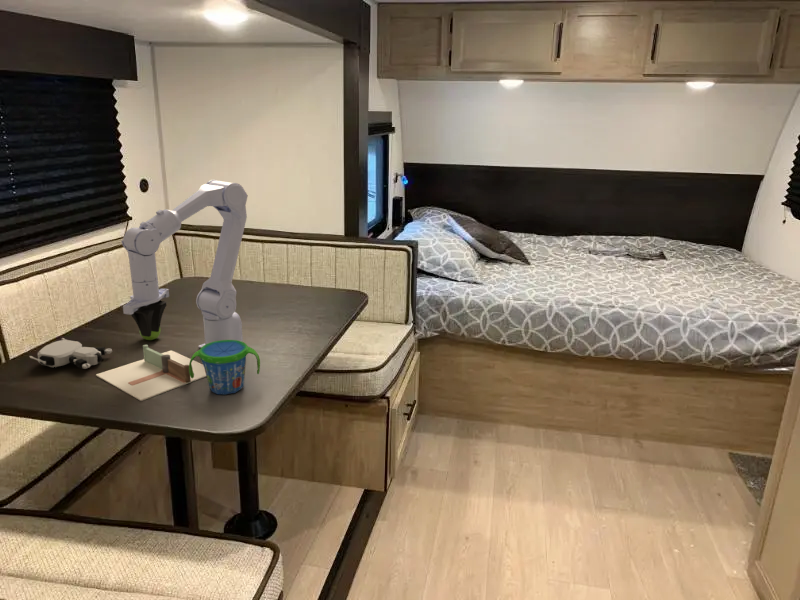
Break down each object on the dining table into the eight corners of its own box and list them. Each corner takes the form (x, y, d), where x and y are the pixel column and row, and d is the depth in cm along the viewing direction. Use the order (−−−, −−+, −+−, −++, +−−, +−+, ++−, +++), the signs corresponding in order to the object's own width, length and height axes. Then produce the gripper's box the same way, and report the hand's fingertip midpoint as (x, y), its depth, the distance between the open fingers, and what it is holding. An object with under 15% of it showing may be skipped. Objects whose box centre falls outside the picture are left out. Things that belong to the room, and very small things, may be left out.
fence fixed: (168, 368, 150) (167, 353, 149) (193, 380, 144) (191, 365, 143) (161, 371, 149) (159, 356, 148) (185, 383, 143) (184, 367, 142)
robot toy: (116, 359, 158) (61, 351, 160) (115, 343, 157) (59, 335, 158) (87, 379, 147) (28, 370, 148) (86, 362, 145) (26, 353, 146)
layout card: (171, 351, 162) (171, 349, 161) (217, 372, 150) (217, 370, 150) (96, 375, 146) (95, 374, 146) (141, 401, 135) (140, 399, 135)
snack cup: (186, 399, 136) (182, 357, 133) (197, 379, 146) (193, 339, 143) (257, 398, 137) (255, 356, 134) (263, 378, 147) (262, 338, 144)
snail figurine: (150, 333, 173) (146, 293, 169) (165, 338, 170) (161, 297, 166) (133, 339, 169) (128, 298, 165) (149, 344, 166) (144, 302, 162)
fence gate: (147, 359, 155) (146, 344, 154) (166, 368, 150) (164, 352, 149) (143, 360, 154) (141, 345, 153) (161, 369, 149) (160, 354, 148)
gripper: (149, 270, 151) (154, 321, 155) (108, 286, 138) (115, 342, 142) (174, 272, 150) (179, 324, 154) (136, 288, 136) (142, 345, 140)
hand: (150, 333), depth 148 cm, fingers open, 3 cm apart
